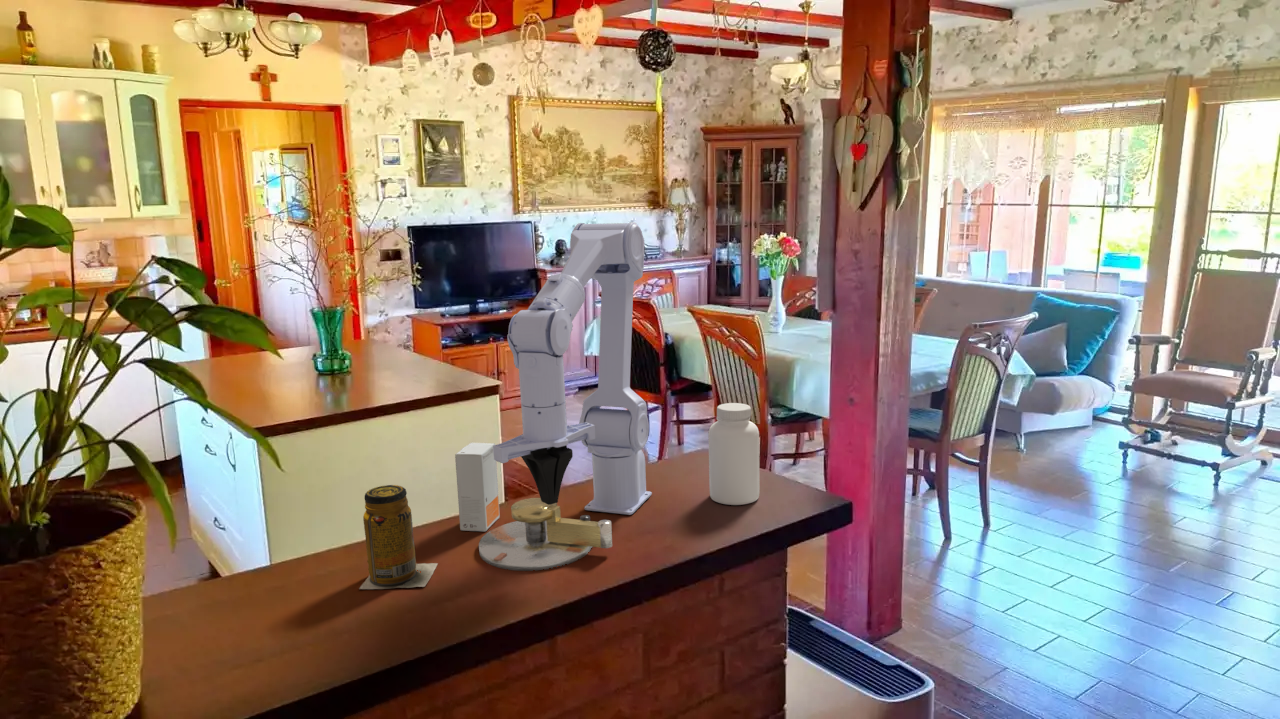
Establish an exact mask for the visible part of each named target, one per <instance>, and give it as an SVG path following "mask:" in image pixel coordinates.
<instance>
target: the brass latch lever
mask: <svg viewBox="0 0 1280 719" xmlns="http://www.w3.org/2000/svg"><path fill="white" fill-rule="evenodd" d="M510 510H511V518H512V520H514V521H519V522H525V523H536V522H542V521H546V520H547V537H548V541H550V542H558V543H566V544H575V545H583V546H591V547H592V548H599V549H609V548H612V547H613V535H612V534H613V531H612V520H609V519H601V520H599V521H594V520H590V521H586V520H580V519H574V518H565V517H561V506H560V505H558V502H557V503H554V504H551V505H548V504H546V503H544V502H542V501H541V498H540V497H531V498H525V499H524V498H523V499H520V500H518V501H515V502H514V503H513V504H512V505H511V507H510Z"/></svg>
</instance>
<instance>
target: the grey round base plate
mask: <svg viewBox="0 0 1280 719" xmlns="http://www.w3.org/2000/svg"><path fill="white" fill-rule="evenodd" d="M579 520H586V521H591V516H590V515H589V514H584V515H580V517H579ZM591 548H592V549H593V547H591V546H583V545H575V544H566V543H558V542H550V541H548V537H547V520H546V521H542V522H536V523H525V522H519V521H516V520H514V521H511V522H508V523H506V524H502V525H498V526H497V527H494V528H493V529H491V530H489V531H488V532H485V534H484V535H483V536H482V537H481V538H480V540H479V542H478V550H479V551H478V552H479V557H480V558H481V560H482V561H484V562H485V563H486V564H488V565H490V566H492V567H495V568H499V569H504V570H507V569H508V570H509V571H521V572H526V571H527V572H530V571H531V572H532V571H533V570H535V571H541V570H542V571H543V569H544V570H549V568H551V569H554V568H553V567H556V568H558V567H557V566H560V567H563V566H566V565H565V564H567V565H570V564H572V563H574V562H577V561H579V560H580V559H583V557H585V556H586V555H588V554H589V553H590V551H591V550H592V549H591ZM588 552H589V553H588ZM578 559H579V560H578ZM562 565H563V566H562ZM508 570H507V571H508ZM533 572H534V571H533Z"/></svg>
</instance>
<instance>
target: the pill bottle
mask: <svg viewBox="0 0 1280 719" xmlns="http://www.w3.org/2000/svg"><path fill="white" fill-rule="evenodd" d="M751 416H752V408H751V405H748V404H747V403H740V402H727V403H722V404H719V405H717V407H716V420H717V421H715V422H713V423H711V425H710V427H709V428H708V473H709V474H708V475H709V477H708V478H709V485H708V486H709V496H710V498H711V500H712V501H714V502H716V503H718V504H723V505H728V506H730V505H731V506H741V505H748V504H751V503H754V502H756V501H757V500H758V499H759V497H760V431H759V428H758V426H757V425H756V424H755V423H754V422H752V421H750V420H751Z"/></svg>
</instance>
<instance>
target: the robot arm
mask: <svg viewBox="0 0 1280 719" xmlns="http://www.w3.org/2000/svg"><path fill="white" fill-rule="evenodd" d="M641 229H642V228H641V227H640V226H639V224H637V223H636V222H634V221H631V222H623V223H621V222H620V223H618V222H617V223H615V222H614V223H613V222H611V223H585V222H578V223H576V225H575V226H574V228H573V229H572V232H571V233H570V241H569V243H570V245H569V246H570V254H569V256H568V258H567V261H566V262H565V264H564V266H563V269H562V271H561V273H555V274H551V275H550V276H549V278H548V279H547V280H546V281H545V283H544V285H542V287H541V289H540V290H539V292H538V293H537V295H536V296H535V297H534V299H533V301H531V304H530V305H529V306H528V307H527V309H521V310H519V311H518V312H517V313H515V314H514V315H512V317H511V319H510V322H509V323H508V324H509V325H508V332H507V333H508V334H507V335H506V336H507V338H506V339H507V343H508V347H509V349H510V350H511V351H510V352H511V353H512V355H513V365H515V366H514V367H515V369H517V370H518V376H519V378H518V379H519V391H520V392H519V394H520V403H521V404H520V407H521V408H520V409H521V421H522V434H519V435H517V436H515V437H513V438H510V439H508V440H506V441H503V442H501V443H497V444H495V445H494V446H493V453H494V460H495V461H496V463H497V462H498V463H500V464H505V463H508V462H509V460H513V459H517V458H520V457H521V459H522V460H523V462H524V463H525V465H526V467H527V469H528V470H529V472H530V474H531V476H532V478H533V480H534V482H535V485H536V488H537V490H538V494H539V498H541V501H542V502H544V503H546V504H548V505H551V504H554V503H557V504H558V502H559V497H560V492H561V491H560V490H561V488H562V483H563V478H564V476H565V472H566V470H567V468H568V467H569V464H570V462H571V460H572V459H573V456H574V455H573V449H572V448H569V447H568V445H569V444H573V443H577V442H580V441H581V443H582V445H583V446H585V447H586V448H587V453H588V454H589V453H590V454H591V463H592V481H593V482H592V484H593V486H592V487H593V499H592V500H591V501H589V503H587V504H586V505H584V510H585V511H589V512H590V511H592V512H600V513H609V514H620V515H628V516H631V515H633V514H634V513H635V512H636V511H637V510H638V509H639V508H640V507H641V506H642V505H643V504H644V503H645V502H646V501H647V500H648V499H649V498H650V497H651V496H652V494H653V492H652V491H650V490H649V491H648V490H647V479H646V478H647V477H646V458H645V457H646V456H645V454H644V452H643V450H642V449H643V448H644V447H645V446H646V445H647V442H648V438H649V432H650V424H649V423H650V422H649V418H648V406H647V402H646V401H645V400H644V399H643V398H642V397H641V396H640V395H639V394H638V393H636V392H635V391H634V390H633V389H632V388H631V362H632V361H631V358H632V332H633V331H632V330H633V308H634V307H633V304H634V302H633V301H634V288H635V283H636V281H638V280H640V279H642V278H643V274H644V267H645V238H644V236H643V231H642V230H641ZM591 279H592V280H595V281H596V282H597V283H598V284H599V286H600V288H601V293H600V295H601V296H600V298H601V299H600V322H599V323H600V324H599V325H600V326H599V348H598V349H599V350H598V352H599V354H598V377H597V378H598V382H597V383H598V385H597V389H596V390H595V391H593V392H592V393H590V395H588V396H586V398H584V400H583V403H582V411H581V414H580V418H579V421H578V422H579V423H576V424H569V425H568V423H567V422H568V421H567V419H568V418H567V403H566V388H565V387H566V386H565V385H566V384H565V370H564V369H565V368H564V365H565V364H564V354H565V353H566V351H568V349H569V346H570V341H571V334H572V331H573V327H574V325H573V321H574V319H575V317H576V316H577V314H578V313H579V311H580V309H582V307H583V305H584V302H585V300H586V292H585V286H586V285H587V284H588V282H589V281H590V280H591ZM601 407H610V408H601ZM611 407H612V408H611ZM614 408H617V409H614ZM618 408H623V409H618Z"/></svg>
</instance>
